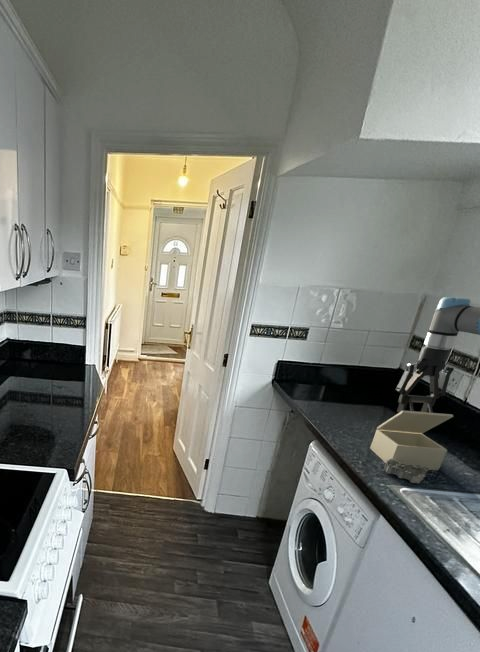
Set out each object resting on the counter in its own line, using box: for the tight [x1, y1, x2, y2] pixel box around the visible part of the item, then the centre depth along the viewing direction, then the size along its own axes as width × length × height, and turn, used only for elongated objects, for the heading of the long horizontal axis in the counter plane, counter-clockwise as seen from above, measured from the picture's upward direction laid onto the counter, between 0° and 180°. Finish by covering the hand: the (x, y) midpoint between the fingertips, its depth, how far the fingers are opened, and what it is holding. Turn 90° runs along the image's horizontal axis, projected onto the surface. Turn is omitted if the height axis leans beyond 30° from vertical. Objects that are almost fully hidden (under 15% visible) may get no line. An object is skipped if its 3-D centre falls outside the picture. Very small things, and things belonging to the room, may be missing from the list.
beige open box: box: [369, 429, 448, 471], centre depth 144 cm, size 14×16×8 cm
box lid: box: [376, 394, 454, 434], centre depth 143 cm, size 14×16×8 cm
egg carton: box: [383, 459, 429, 484], centre depth 133 cm, size 11×8×4 cm
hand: (411, 413), depth 142 cm, fingers closed on box lid, 7 cm apart
